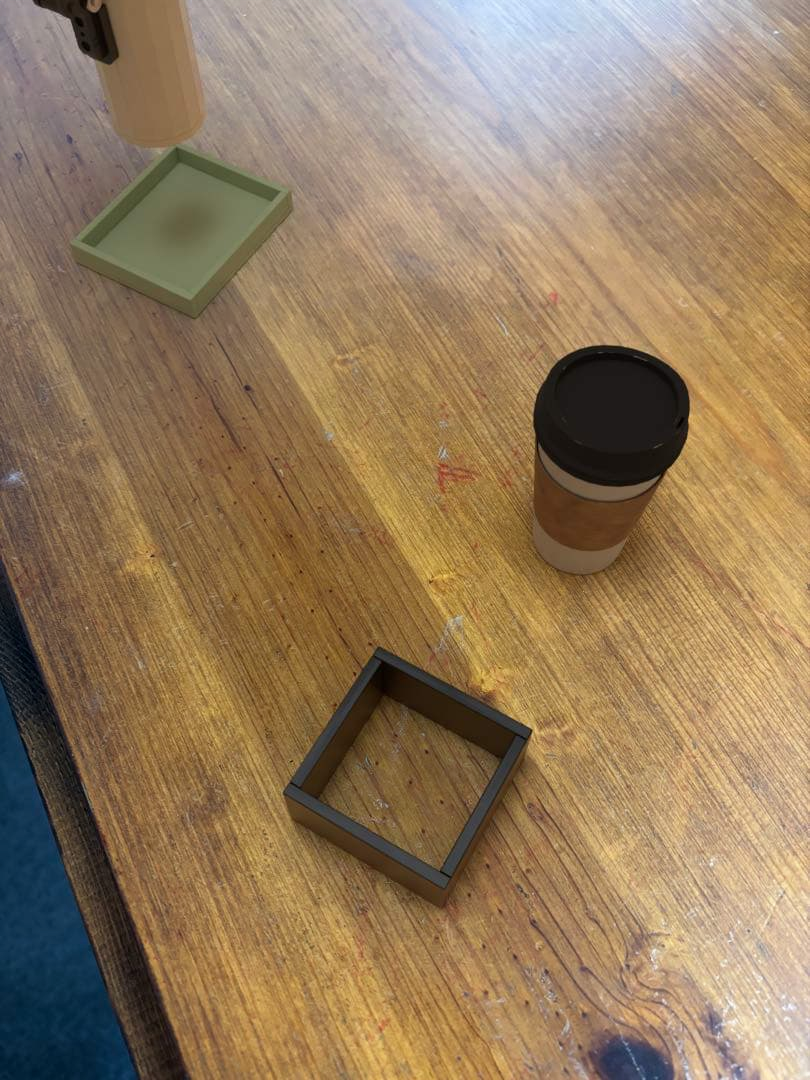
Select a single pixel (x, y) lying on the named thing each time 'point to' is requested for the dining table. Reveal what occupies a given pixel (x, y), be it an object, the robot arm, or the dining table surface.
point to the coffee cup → (602, 451)
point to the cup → (152, 73)
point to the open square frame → (438, 705)
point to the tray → (183, 228)
